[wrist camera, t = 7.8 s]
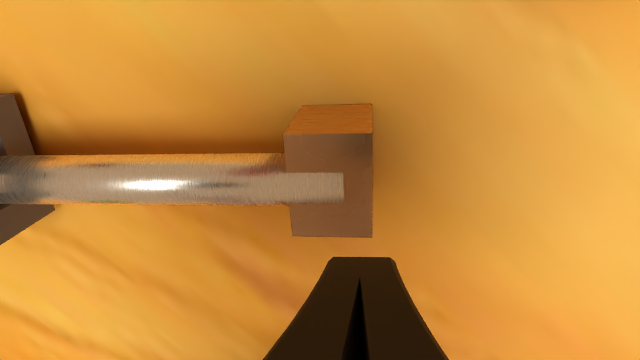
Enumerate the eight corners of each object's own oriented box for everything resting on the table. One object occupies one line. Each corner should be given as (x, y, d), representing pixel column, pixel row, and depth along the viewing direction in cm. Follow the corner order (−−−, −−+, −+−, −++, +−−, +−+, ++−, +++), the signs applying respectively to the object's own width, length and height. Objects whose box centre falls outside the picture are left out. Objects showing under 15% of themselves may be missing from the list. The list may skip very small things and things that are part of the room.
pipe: (371, 103, 17) (372, 135, 13) (371, 188, 18) (372, 242, 14) (-74, 115, 20) (-194, 144, 15) (-40, 188, 21) (-142, 232, 17)
